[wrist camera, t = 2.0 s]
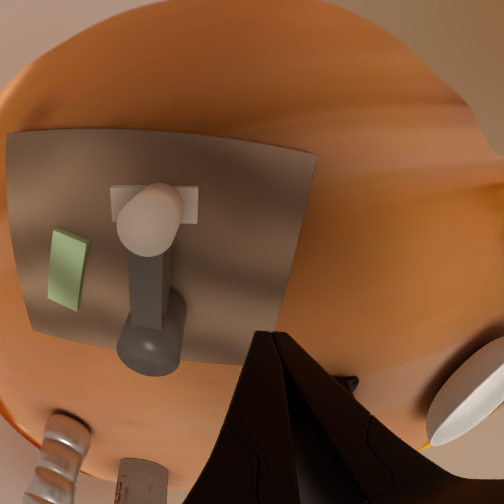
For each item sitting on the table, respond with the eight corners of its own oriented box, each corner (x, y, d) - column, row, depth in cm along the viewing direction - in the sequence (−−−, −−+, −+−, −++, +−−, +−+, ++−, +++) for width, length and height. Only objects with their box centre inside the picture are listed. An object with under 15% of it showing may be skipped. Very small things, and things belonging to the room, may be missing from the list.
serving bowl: (414, 430, 37) (428, 458, 31) (408, 376, 29) (433, 417, 22) (501, 368, 35) (518, 390, 29) (520, 291, 26) (549, 317, 20)
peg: (185, 331, 19) (179, 379, 15) (135, 324, 19) (120, 370, 15) (199, 181, 15) (190, 203, 11) (135, 175, 15) (105, 195, 11)
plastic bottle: (72, 434, 29) (48, 545, 11) (42, 407, 26) (5, 525, 8) (103, 434, 29) (82, 559, 11) (71, 406, 26) (36, 543, 8)
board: (260, 349, 24) (264, 371, 21) (42, 316, 20) (30, 334, 18) (307, 151, 17) (320, 156, 15) (23, 130, 14) (1, 134, 12)
